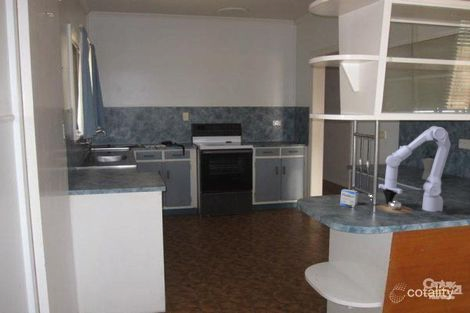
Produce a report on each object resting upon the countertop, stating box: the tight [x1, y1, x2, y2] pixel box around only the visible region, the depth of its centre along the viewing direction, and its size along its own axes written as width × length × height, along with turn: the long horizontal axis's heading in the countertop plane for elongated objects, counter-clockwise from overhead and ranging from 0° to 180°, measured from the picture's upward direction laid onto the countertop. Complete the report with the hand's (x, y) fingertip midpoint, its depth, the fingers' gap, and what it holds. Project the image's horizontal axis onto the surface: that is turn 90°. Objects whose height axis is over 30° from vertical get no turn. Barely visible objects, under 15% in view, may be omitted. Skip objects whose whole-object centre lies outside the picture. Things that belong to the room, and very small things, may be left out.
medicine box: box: [339, 188, 359, 209], centre depth 214 cm, size 8×4×9 cm, turn 56°
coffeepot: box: [420, 155, 435, 181], centre depth 302 cm, size 15×9×18 cm, turn 70°
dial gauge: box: [367, 193, 374, 207], centre depth 212 cm, size 4×4×7 cm
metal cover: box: [388, 199, 402, 210], centre depth 207 cm, size 6×6×4 cm
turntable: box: [375, 203, 414, 214], centre depth 207 cm, size 18×18×2 cm
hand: (388, 204), depth 211 cm, fingers closed
